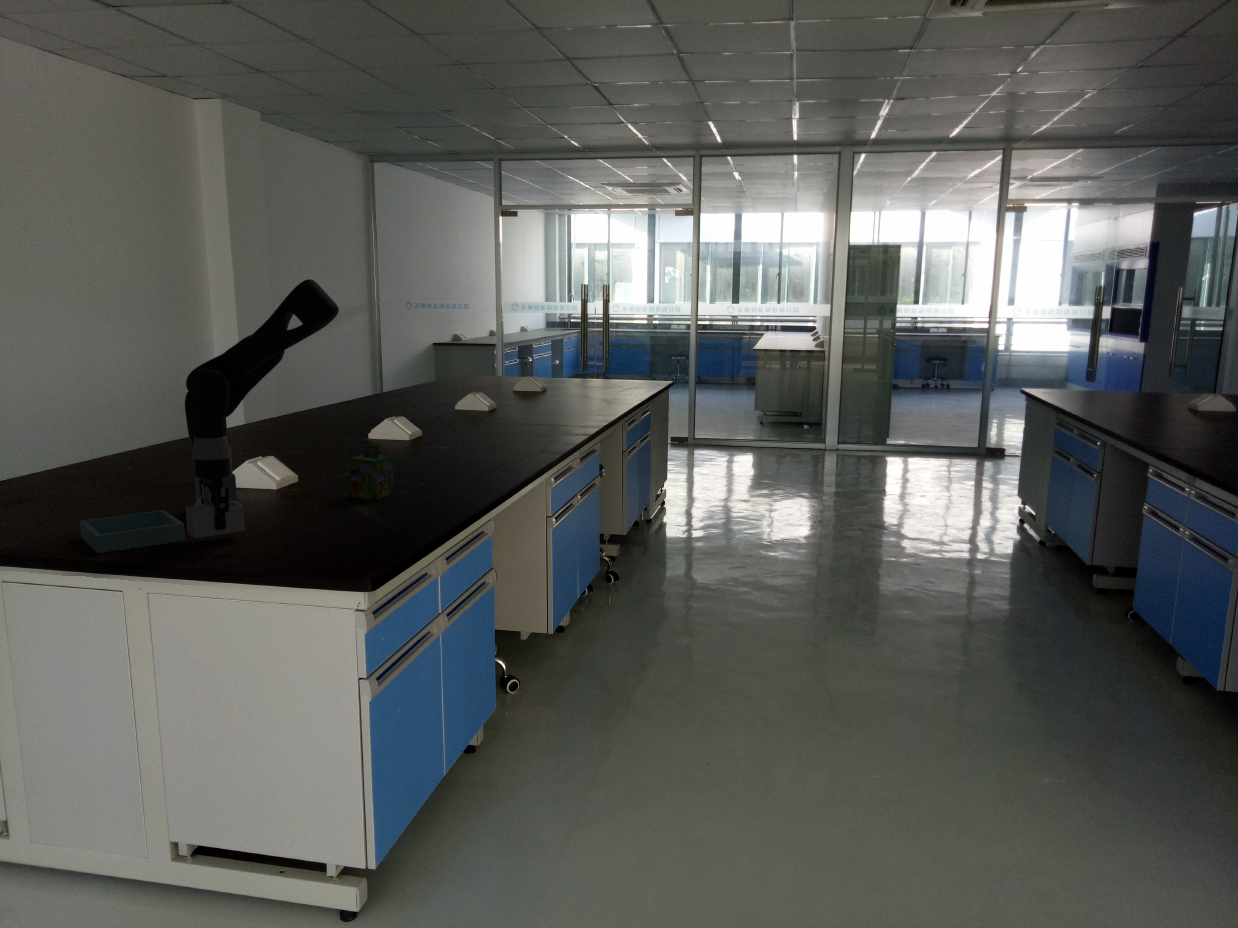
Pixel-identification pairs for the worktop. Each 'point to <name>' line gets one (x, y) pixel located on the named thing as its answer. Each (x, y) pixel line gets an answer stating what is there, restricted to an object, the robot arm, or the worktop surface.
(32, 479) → the worktop surface
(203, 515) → the grey crate
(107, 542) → the teal crate
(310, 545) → the worktop surface
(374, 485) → the chalk box
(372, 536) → the worktop surface
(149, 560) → the worktop surface
